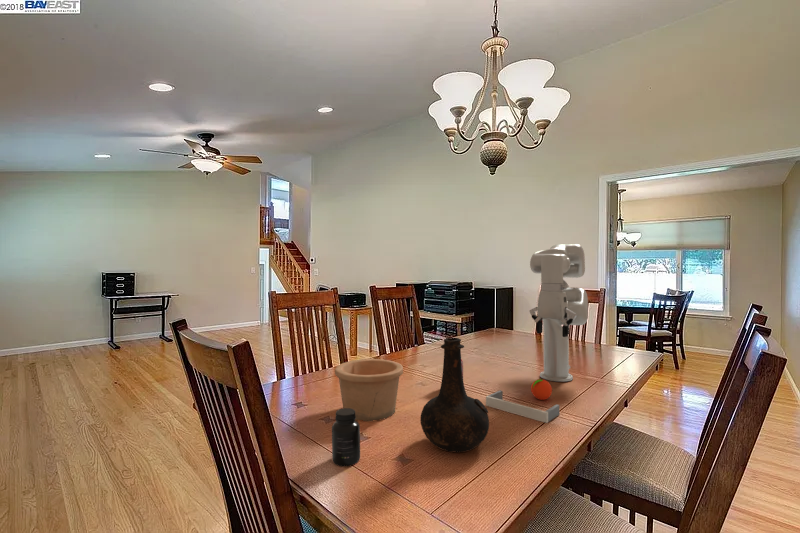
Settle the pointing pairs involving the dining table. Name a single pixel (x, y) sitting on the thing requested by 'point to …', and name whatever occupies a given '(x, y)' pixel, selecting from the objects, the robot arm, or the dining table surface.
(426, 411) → the glass bottle
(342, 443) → the supplement bottle
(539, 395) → the clementine
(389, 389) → the pottery
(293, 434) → the dining table surface
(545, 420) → the grey u-shaped bracket
